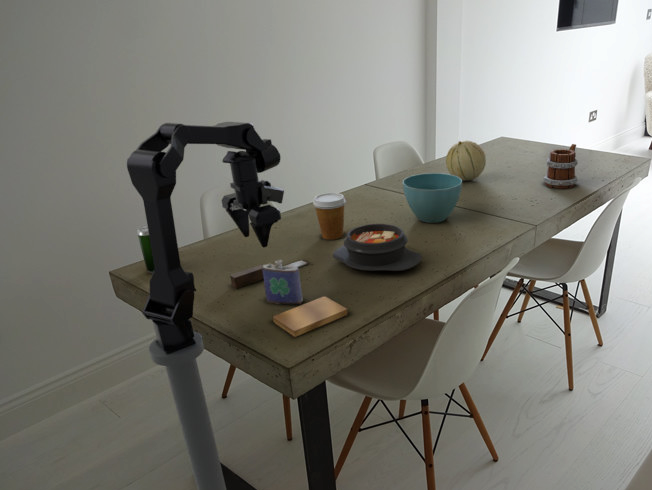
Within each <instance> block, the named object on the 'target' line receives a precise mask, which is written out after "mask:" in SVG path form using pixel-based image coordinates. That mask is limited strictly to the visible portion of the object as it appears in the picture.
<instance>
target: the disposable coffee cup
mask: <svg viewBox="0 0 652 490" xmlns="http://www.w3.org/2000/svg"><path fill="white" fill-rule="evenodd" d="M346 203H347V200H346V198H345V196H344V195H343V194H342V193H338V192H325V193H320V194H317V195H316V196H314V199H313V201H312V205H313V206H314V209H315V212H316V216H317V221H318V225H319V229H320V232H321V237H322V239H324V240H337V239H341V238H343V236H344V225H345V224H344V223H345V205H346Z"/></svg>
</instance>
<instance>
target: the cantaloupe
mask: <svg viewBox="0 0 652 490" xmlns="http://www.w3.org/2000/svg"><path fill="white" fill-rule="evenodd" d="M445 164H446V168H447V170H448V172H449V174H450V175H454V176H457V177H459V178H460V179H461V180H462V182H467V181H471V180H475V179H477V178H479V176H481V174H482V173H483V172H484V169H485V168H486V164H487V159H486V154H485V151H484V149H483V148H482V147H481V146H480V145H479V144H478V143H477V142H475V141H473V140H468V139H467V140H459V141H458V142H456V143H454V144H453V145H452V146H450V148H449V150H448V151H447V153H446V157H445Z"/></svg>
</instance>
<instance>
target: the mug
mask: <svg viewBox="0 0 652 490" xmlns="http://www.w3.org/2000/svg"><path fill="white" fill-rule="evenodd" d="M576 148H577V144H575V143H572V144H571V145H570V147H569V148H568V149H567V148H557V149H552V150H550V151H549V157H548V158H547V160H546V165H547V172H546V174H545V175H544V178H543V181H544V182H545V183H544V185H545V186H546V187H548V188H553V189H557V190H558V189H559V190H561V189H562V190H564V189H572V188H573V187H575V186H576V183H577V182H578V181H579V180H578V176H576V167H577V166H578V164H579V163H578V160H577V157H576V156H577V155H576V153H577V152H576Z"/></svg>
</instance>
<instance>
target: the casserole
mask: <svg viewBox="0 0 652 490" xmlns="http://www.w3.org/2000/svg"><path fill="white" fill-rule="evenodd" d="M408 240H409V239H408V236H407V235H406V234H405V231H404V230H403V229H402V228H401V227H399V226H397V225H393V224H388V223H370V224H365V225H363V224H362V225H360V226H357V227H354V228H352V229H350V230H349V231H348V232H347V234H346V238H345V239H344V240H343V245H342V246H340V247H338V248H337V249H336V250H334V251H333V253H332V255H331V256H332V258H333V259H335V260H338V261H340V262H341V263H343V264H344V265H346V266H347V267H349V268H352V269H355V270H360V271H365V272H367V271H369V272H377V271H378V272H379V271H390V272H403V271H406V270H409V269H411V268H415V266H417V265H418V264H420V262H421V261H422V259H423V256H422V254H421V253H419V252H417V251H414V250H411V249H410V248H407V247H406V245H407V243H408Z"/></svg>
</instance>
